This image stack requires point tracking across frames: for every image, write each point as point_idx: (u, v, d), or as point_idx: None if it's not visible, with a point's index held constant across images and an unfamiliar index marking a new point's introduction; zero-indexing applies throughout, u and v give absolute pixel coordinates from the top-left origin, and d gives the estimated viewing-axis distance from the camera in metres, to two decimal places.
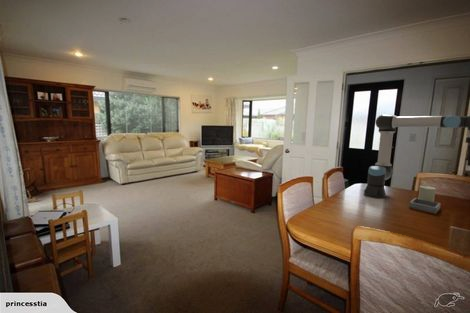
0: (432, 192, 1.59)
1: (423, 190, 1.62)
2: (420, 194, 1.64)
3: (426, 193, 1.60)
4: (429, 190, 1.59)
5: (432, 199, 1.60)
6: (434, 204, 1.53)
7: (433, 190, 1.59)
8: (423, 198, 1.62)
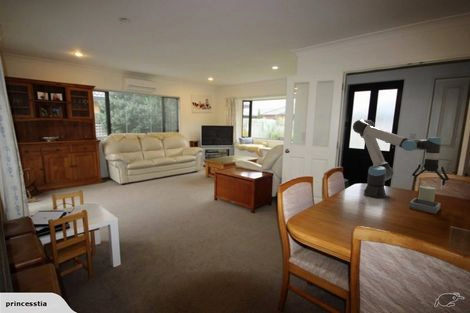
0: (432, 192, 1.59)
1: (423, 190, 1.62)
2: (420, 194, 1.64)
3: (426, 193, 1.60)
4: (429, 190, 1.59)
5: (432, 199, 1.60)
6: (434, 204, 1.53)
7: (433, 190, 1.59)
8: (423, 198, 1.62)
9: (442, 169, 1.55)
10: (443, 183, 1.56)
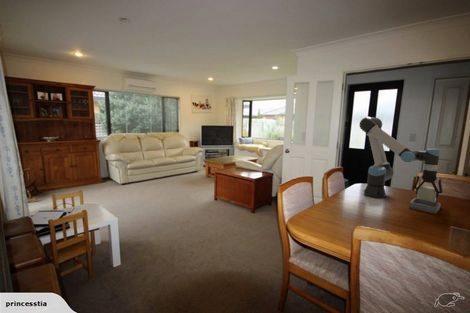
0: (432, 192, 1.59)
1: (423, 190, 1.62)
2: (420, 194, 1.64)
3: (426, 193, 1.60)
4: (429, 190, 1.59)
5: (432, 199, 1.60)
6: (434, 204, 1.53)
7: (433, 190, 1.59)
8: (423, 198, 1.62)
9: (439, 182, 1.57)
10: (437, 196, 1.59)
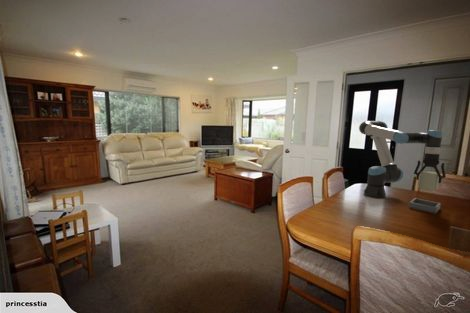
0: (434, 177, 1.47)
1: (425, 175, 1.49)
2: (421, 180, 1.52)
3: (428, 178, 1.48)
4: (431, 175, 1.47)
5: (434, 185, 1.47)
6: (434, 204, 1.53)
7: (435, 175, 1.46)
8: (425, 184, 1.49)
9: (442, 165, 1.44)
10: (439, 181, 1.47)
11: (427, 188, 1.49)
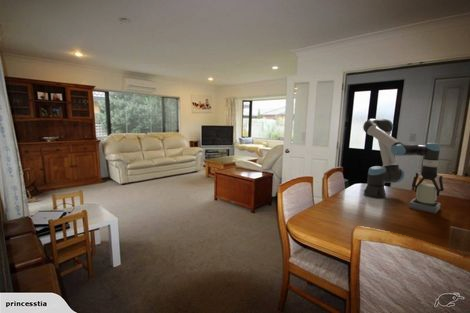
0: (432, 190, 1.46)
1: (422, 188, 1.49)
2: (419, 192, 1.51)
3: (426, 191, 1.48)
4: (429, 188, 1.47)
5: (432, 197, 1.47)
6: (434, 204, 1.53)
7: (433, 188, 1.46)
8: (423, 196, 1.49)
9: (440, 179, 1.44)
10: (437, 194, 1.46)
11: (425, 200, 1.48)
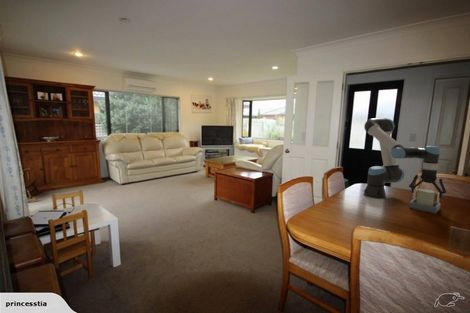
0: (431, 196, 1.47)
1: (421, 193, 1.50)
2: (418, 198, 1.52)
3: (424, 197, 1.49)
4: (428, 193, 1.47)
5: (431, 203, 1.48)
6: (434, 204, 1.53)
7: (432, 193, 1.47)
8: (421, 202, 1.50)
9: (440, 181, 1.44)
10: (440, 196, 1.45)
11: None
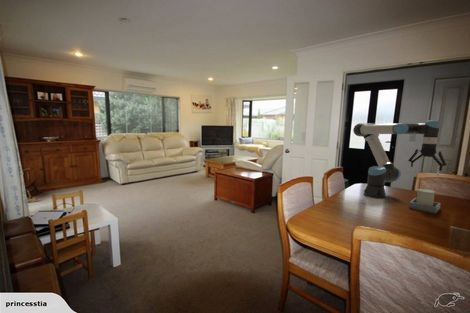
0: (431, 196, 1.47)
1: (421, 193, 1.50)
2: (418, 198, 1.52)
3: (424, 197, 1.49)
4: (428, 193, 1.48)
5: (431, 203, 1.48)
6: (434, 204, 1.53)
7: (432, 193, 1.47)
8: (421, 202, 1.50)
9: (439, 154, 1.48)
10: (440, 169, 1.49)
11: None
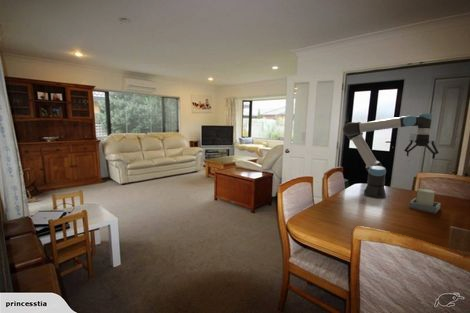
0: (431, 196, 1.47)
1: (421, 193, 1.50)
2: (418, 198, 1.52)
3: (424, 197, 1.49)
4: (428, 193, 1.47)
5: (431, 203, 1.48)
6: (434, 204, 1.53)
7: (432, 193, 1.47)
8: (421, 202, 1.50)
9: (432, 143, 1.64)
10: (433, 157, 1.64)
11: None
